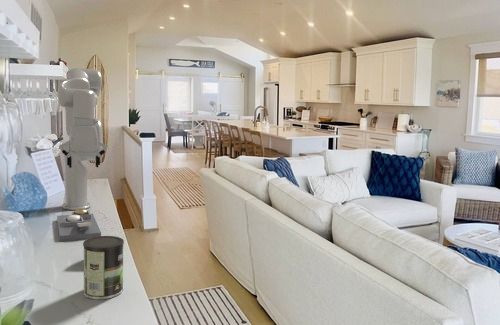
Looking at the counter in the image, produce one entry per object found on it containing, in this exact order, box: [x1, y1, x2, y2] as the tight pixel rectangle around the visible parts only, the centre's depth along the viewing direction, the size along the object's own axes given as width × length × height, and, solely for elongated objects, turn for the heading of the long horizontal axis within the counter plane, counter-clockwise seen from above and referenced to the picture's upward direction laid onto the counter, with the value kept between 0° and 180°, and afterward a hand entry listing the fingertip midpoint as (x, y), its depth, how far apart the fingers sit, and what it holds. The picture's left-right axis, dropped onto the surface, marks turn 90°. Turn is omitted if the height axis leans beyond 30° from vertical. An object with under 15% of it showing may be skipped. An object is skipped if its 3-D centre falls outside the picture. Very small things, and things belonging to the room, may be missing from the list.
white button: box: [67, 214, 80, 222], centre depth 166 cm, size 5×5×2 cm
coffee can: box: [82, 235, 125, 301], centre depth 114 cm, size 10×10×14 cm
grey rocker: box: [77, 222, 91, 227], centre depth 159 cm, size 9×4×1 cm, turn 27°
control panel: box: [56, 210, 102, 242], centre depth 167 cm, size 28×14×4 cm, turn 26°
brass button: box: [74, 208, 88, 215], centre depth 175 cm, size 5×5×2 cm
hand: (83, 167), depth 163 cm, fingers open, 9 cm apart
